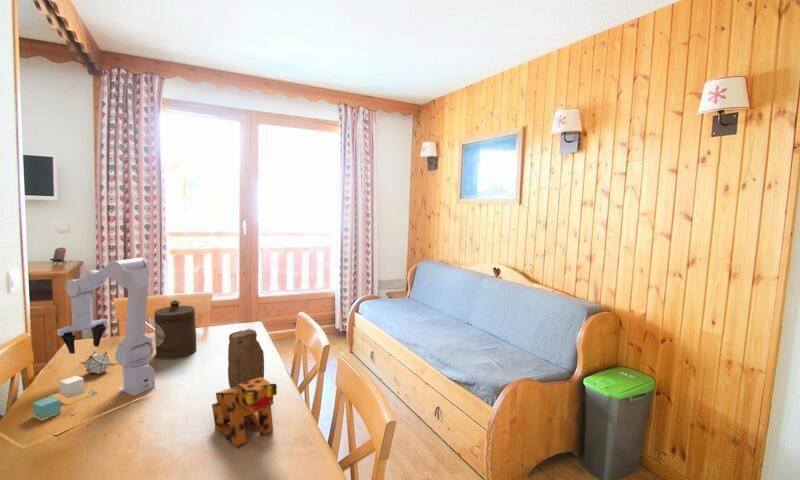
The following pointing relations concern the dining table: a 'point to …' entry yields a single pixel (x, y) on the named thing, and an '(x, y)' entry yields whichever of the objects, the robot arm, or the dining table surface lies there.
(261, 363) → the block
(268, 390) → the toy animal
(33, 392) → the dining table surface
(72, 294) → the robot arm
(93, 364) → the game die
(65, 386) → the cream brick
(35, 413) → the teal brick
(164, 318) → the wooden container
